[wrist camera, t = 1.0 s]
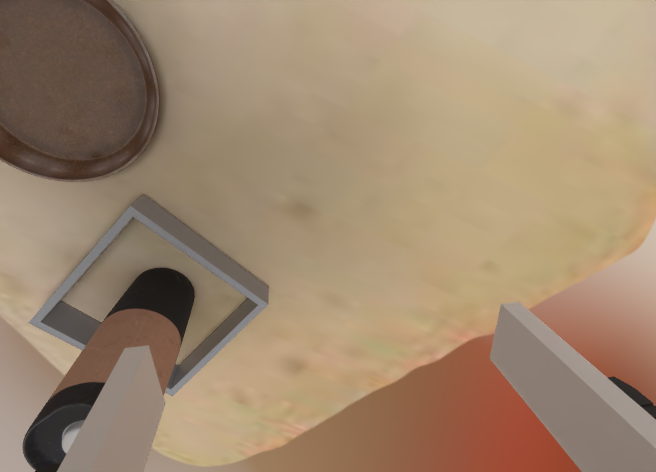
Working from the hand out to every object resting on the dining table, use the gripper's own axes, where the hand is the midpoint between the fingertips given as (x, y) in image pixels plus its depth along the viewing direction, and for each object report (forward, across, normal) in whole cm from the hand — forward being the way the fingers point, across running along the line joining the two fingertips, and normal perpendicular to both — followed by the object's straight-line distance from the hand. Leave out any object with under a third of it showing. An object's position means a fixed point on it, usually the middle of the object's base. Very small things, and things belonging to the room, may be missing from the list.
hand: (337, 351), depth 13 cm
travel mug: (+28, -16, -13) cm, 35 cm away
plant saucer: (+29, -20, +10) cm, 37 cm away
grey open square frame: (+28, -16, -13) cm, 35 cm away
